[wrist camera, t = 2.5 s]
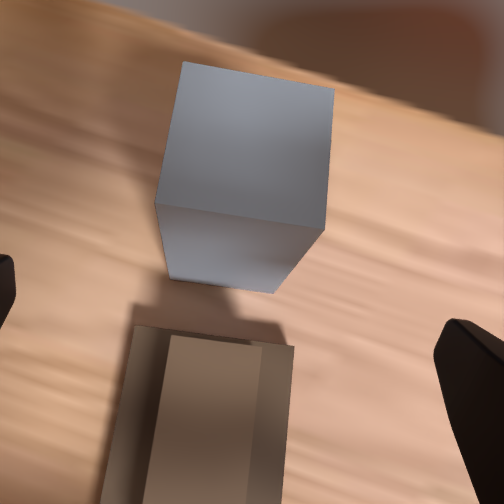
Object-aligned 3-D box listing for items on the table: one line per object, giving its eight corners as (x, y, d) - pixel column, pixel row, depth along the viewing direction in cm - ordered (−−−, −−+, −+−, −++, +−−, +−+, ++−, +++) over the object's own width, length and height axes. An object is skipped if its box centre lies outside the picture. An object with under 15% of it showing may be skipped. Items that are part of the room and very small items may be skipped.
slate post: (273, 293, 22) (324, 229, 13) (169, 279, 21) (154, 202, 13) (282, 200, 23) (334, 88, 15) (186, 184, 23) (183, 61, 14)
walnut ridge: (269, 573, 18) (286, 614, 15) (93, 557, 18) (70, 596, 14) (288, 348, 21) (307, 340, 18) (138, 328, 20) (127, 315, 17)
